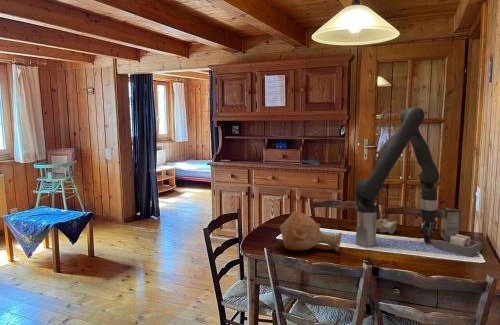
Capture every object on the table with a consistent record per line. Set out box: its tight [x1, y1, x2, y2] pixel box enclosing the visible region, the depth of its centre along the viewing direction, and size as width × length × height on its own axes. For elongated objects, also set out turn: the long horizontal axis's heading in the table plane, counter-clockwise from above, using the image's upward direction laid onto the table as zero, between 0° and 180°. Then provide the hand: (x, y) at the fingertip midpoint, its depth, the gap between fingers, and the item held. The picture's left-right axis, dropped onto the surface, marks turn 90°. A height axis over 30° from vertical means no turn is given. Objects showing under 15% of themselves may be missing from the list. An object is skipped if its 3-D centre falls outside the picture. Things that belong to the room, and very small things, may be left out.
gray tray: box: [433, 235, 483, 258], centre depth 176 cm, size 13×16×4 cm
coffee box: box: [440, 206, 460, 242], centre depth 192 cm, size 9×6×16 cm
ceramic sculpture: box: [376, 217, 398, 234], centre depth 207 cm, size 11×9×15 cm
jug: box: [279, 210, 343, 253], centre depth 180 cm, size 20×19×30 cm
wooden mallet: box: [427, 230, 471, 247], centre depth 181 cm, size 7×20×6 cm, turn 37°
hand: (427, 240), depth 188 cm, fingers closed on wooden mallet, 2 cm apart
